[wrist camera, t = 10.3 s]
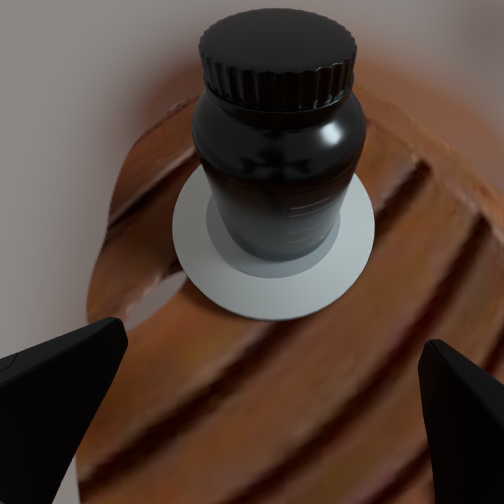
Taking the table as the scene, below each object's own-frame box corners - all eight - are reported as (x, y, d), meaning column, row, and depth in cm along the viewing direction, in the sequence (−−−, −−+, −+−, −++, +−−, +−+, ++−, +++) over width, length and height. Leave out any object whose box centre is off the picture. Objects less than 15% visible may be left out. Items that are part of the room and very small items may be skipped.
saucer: (253, 364, 17) (251, 365, 15) (148, 212, 21) (139, 201, 19) (403, 239, 19) (412, 228, 17) (285, 126, 23) (285, 111, 21)
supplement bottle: (202, 209, 19) (130, 45, 7) (282, 152, 20) (280, -11, 9) (273, 291, 16) (265, 138, 5) (356, 219, 17) (427, 53, 6)
